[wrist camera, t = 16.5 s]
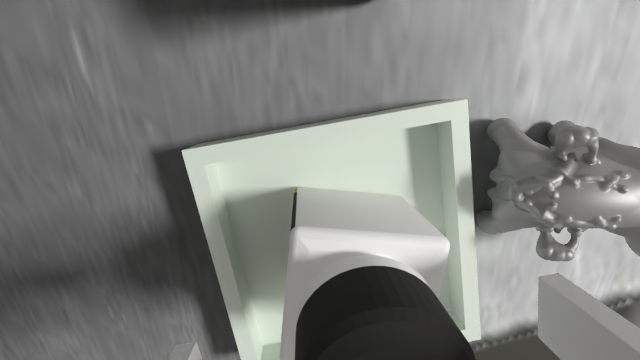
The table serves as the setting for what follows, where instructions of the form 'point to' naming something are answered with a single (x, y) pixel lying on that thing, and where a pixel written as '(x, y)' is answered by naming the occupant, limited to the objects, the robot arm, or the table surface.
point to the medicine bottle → (365, 281)
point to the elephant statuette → (563, 186)
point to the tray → (333, 174)
